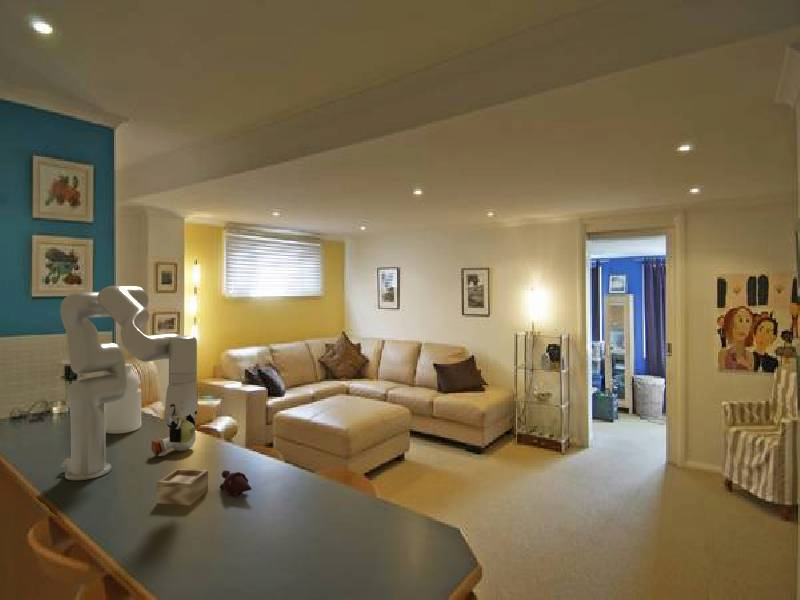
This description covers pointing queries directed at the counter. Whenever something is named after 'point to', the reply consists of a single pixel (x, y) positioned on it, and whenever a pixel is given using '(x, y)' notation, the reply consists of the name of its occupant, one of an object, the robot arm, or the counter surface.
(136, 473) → the counter surface
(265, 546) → the counter surface
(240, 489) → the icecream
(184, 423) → the tennis ball
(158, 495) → the wooden box
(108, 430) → the bottle
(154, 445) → the potion bottle
